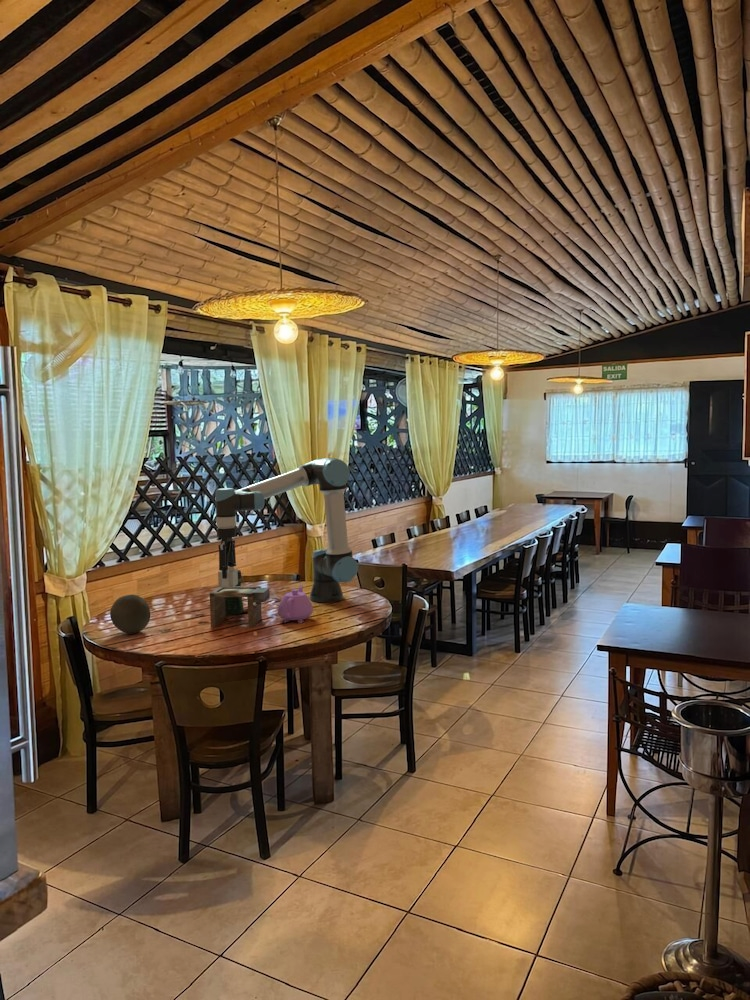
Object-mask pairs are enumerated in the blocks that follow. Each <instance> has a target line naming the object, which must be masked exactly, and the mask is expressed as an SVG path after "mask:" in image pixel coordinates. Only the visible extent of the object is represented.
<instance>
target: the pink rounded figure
mask: <svg viewBox="0 0 750 1000" xmlns="http://www.w3.org/2000/svg"><path fill="white" fill-rule="evenodd" d="M303 590H304V589H303V584H301V585H299V586H298V589H295V588H294V589H291V592H287V593H285V594H284V595H283V596H282V598H281V599H280V600H279V601H280V602H279V604H278V608H277V615H278V616H279V617H280V618H281V619H283V621H282V622H284V623H285V624H286V622H288V623H290V621H297V623H298V622H299V623H298V624H302V623H301V622H304V620H307V619H306V618H308V619H309V618H310V616H311V615H312V614H313V612H314V606H313V604H312V602H311V600H310V597H309V596H308V595H307V593H305V592H304V591H303ZM304 623H305V622H304Z"/></svg>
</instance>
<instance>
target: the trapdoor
mask: <svg viewBox="0 0 750 1000" xmlns="http://www.w3.org/2000/svg"><path fill="white" fill-rule="evenodd" d="M219 592H253V604H255V603H261V604H262V603H263V604H264V603H265V602H266V601H268V600H269V599H270V587H261V588H256V589H223V590H221V591H219Z"/></svg>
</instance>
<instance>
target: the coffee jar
mask: <svg viewBox="0 0 750 1000" xmlns="http://www.w3.org/2000/svg"><path fill="white" fill-rule="evenodd" d="M237 571H238V584H237V585H236V586H242V585H241V584H242V582H243V576H242V571H241V570H239V569H237ZM243 601H244V600H243V597H225V611H226V616H234V615H239V614H240V615H241V614H242V613H243V612H244V602H243Z"/></svg>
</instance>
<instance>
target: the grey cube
mask: <svg viewBox="0 0 750 1000" xmlns="http://www.w3.org/2000/svg"><path fill="white" fill-rule="evenodd" d="M228 570H229V587H234V586H236V585H237V584H238V571H237V570H238V569H236V568H234V569H228ZM217 578H218V580H217V581H218V584H217V585H218V587H222V570H218V572H217Z"/></svg>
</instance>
